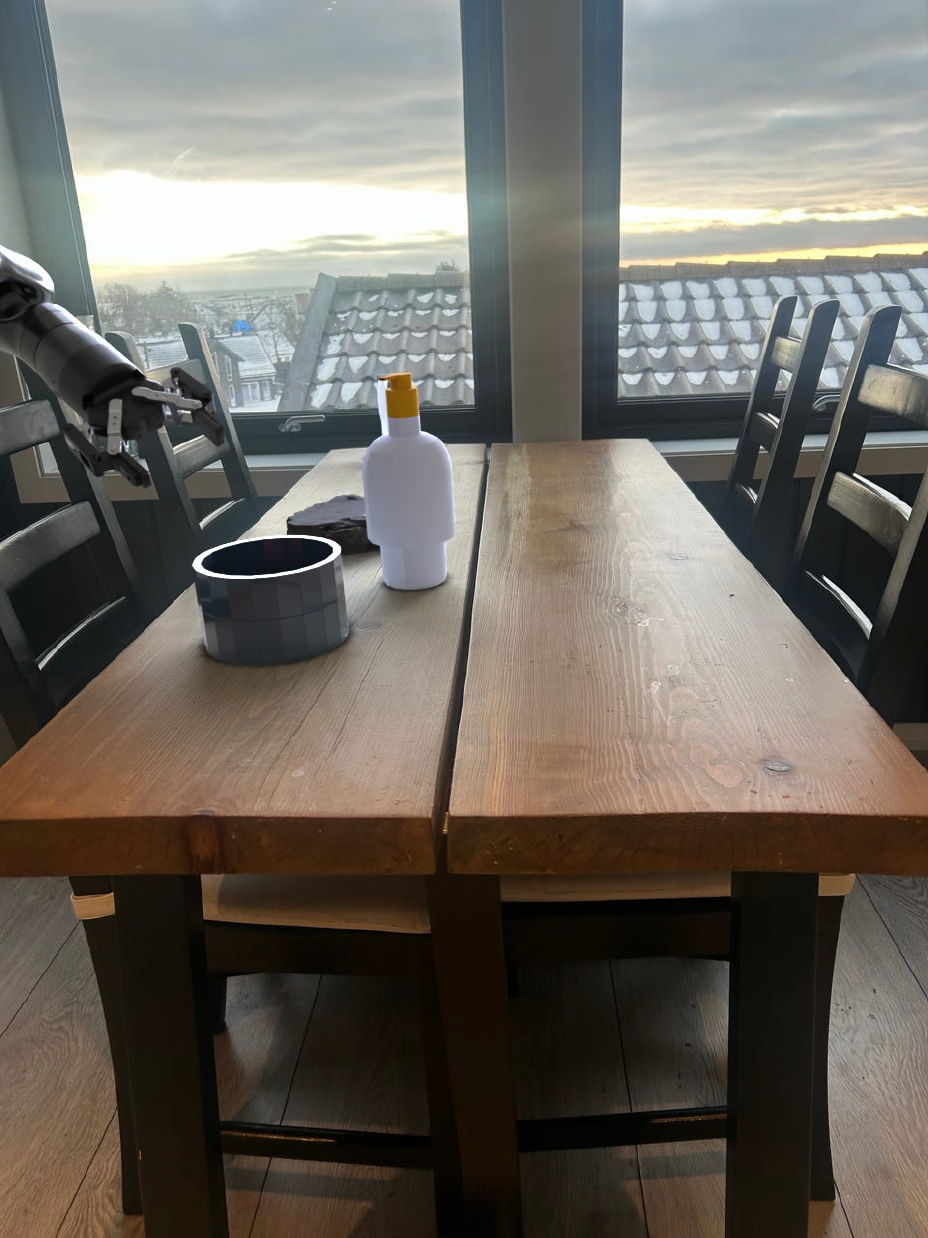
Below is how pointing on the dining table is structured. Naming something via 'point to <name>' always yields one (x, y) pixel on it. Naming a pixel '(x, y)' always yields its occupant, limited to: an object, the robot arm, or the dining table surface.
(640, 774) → the dining table surface
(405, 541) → the soap bottle
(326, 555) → the pot
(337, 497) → the rock sample
